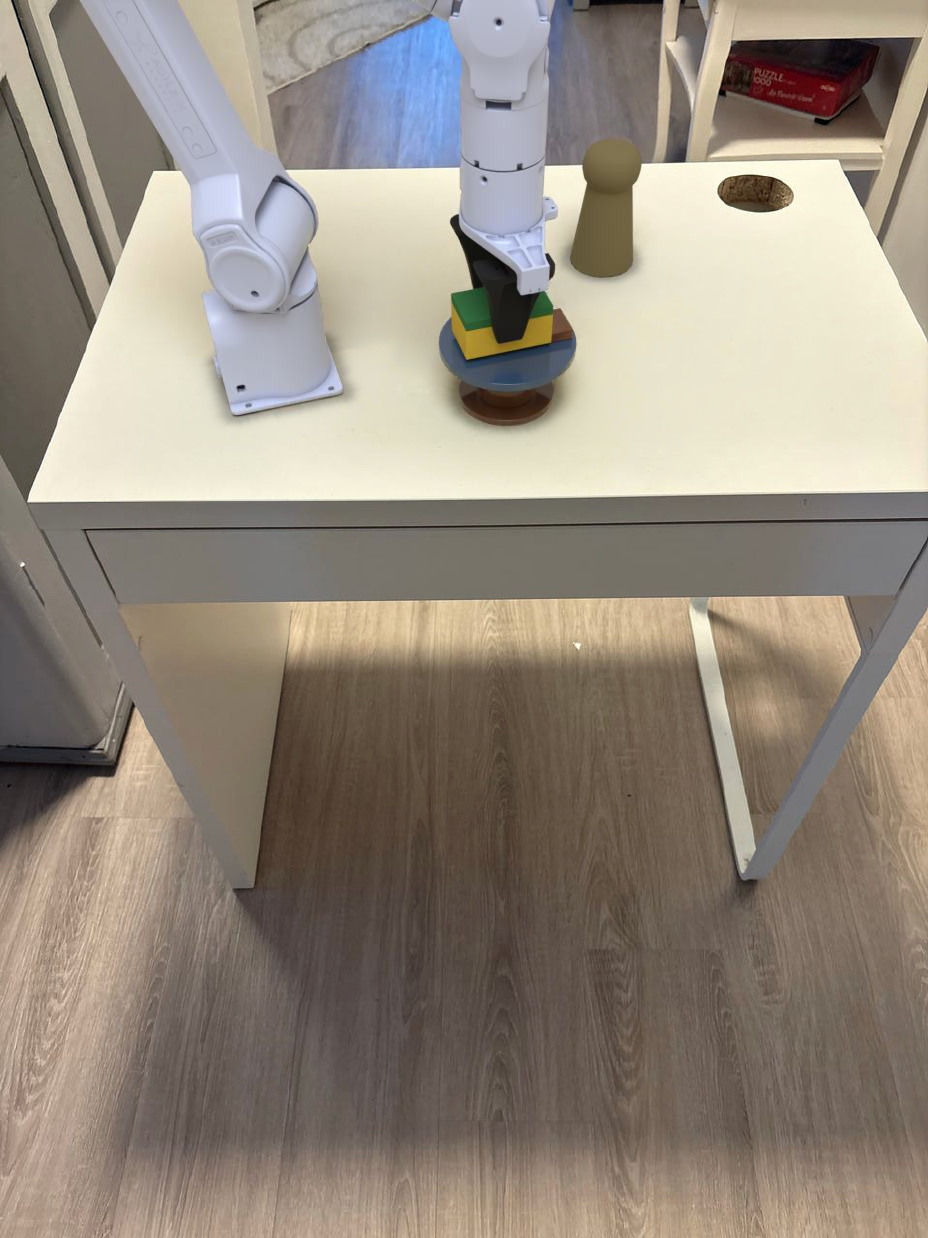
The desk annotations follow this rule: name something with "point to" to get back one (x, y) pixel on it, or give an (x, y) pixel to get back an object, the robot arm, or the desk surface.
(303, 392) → the robot arm
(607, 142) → the olive chess pawn
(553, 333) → the brown flat block
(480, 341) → the sponge
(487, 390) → the blue-grey round pedestal
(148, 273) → the desk surface
